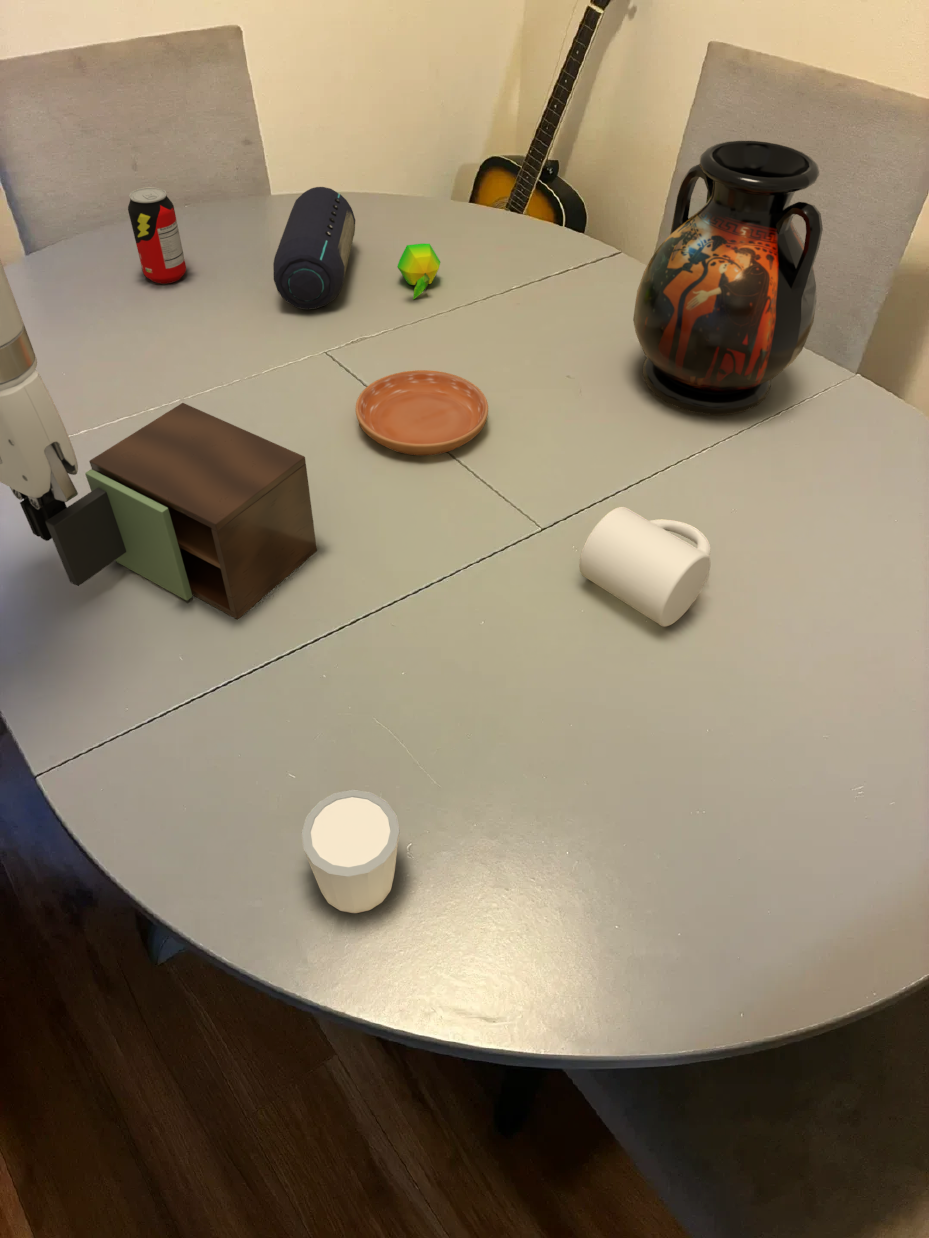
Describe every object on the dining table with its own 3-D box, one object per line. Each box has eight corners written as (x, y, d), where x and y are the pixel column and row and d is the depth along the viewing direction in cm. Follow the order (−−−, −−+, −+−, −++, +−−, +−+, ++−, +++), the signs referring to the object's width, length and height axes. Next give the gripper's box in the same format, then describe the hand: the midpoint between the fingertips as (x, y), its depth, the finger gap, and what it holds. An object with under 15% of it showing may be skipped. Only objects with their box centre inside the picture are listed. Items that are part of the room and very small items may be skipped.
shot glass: (379, 934, 64) (375, 889, 59) (294, 902, 66) (283, 855, 61) (415, 854, 69) (414, 806, 64) (335, 825, 70) (328, 776, 65)
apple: (410, 225, 131) (428, 249, 125) (441, 249, 135) (459, 274, 130) (381, 264, 134) (397, 290, 128) (412, 286, 138) (429, 313, 132)
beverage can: (174, 263, 137) (156, 182, 128) (195, 278, 134) (179, 195, 125) (136, 275, 134) (116, 193, 125) (157, 290, 131) (138, 207, 122)
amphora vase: (588, 377, 117) (620, 151, 97) (691, 328, 127) (740, 113, 107) (718, 453, 106) (785, 215, 86) (820, 392, 116) (902, 166, 96)
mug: (654, 641, 85) (670, 581, 79) (573, 589, 89) (583, 529, 84) (723, 581, 91) (742, 521, 85) (644, 535, 96) (658, 475, 90)
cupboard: (237, 619, 85) (215, 524, 77) (121, 556, 91) (88, 460, 82) (317, 550, 92) (305, 456, 84) (204, 495, 98) (182, 402, 89)
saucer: (423, 482, 101) (423, 461, 99) (329, 425, 108) (327, 404, 106) (514, 425, 109) (515, 404, 107) (421, 376, 116) (421, 355, 114)
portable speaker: (343, 320, 126) (338, 250, 119) (273, 318, 126) (263, 248, 119) (359, 244, 143) (355, 179, 136) (298, 242, 143) (290, 177, 136)
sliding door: (140, 638, 83) (109, 549, 75) (68, 596, 87) (30, 506, 78) (193, 596, 87) (168, 507, 79) (121, 557, 91) (91, 468, 82)
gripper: (-121, 345, 70) (-32, 522, 84) (2, 406, 65) (76, 584, 78) (-38, 307, 75) (34, 481, 88) (83, 361, 69) (140, 538, 83)
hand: (53, 529), depth 83 cm, fingers closed
